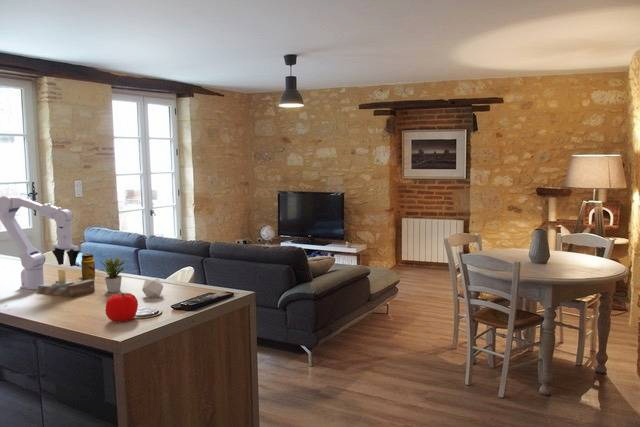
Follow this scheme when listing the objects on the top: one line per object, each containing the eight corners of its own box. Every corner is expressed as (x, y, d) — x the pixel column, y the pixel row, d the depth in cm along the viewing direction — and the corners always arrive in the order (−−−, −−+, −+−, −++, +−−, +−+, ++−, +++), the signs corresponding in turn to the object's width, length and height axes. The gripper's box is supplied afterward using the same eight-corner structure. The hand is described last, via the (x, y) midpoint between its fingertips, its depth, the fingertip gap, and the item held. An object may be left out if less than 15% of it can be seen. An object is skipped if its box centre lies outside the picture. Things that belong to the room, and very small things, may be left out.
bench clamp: (37, 292, 235) (36, 281, 234) (60, 286, 246) (59, 275, 245) (72, 297, 226) (71, 286, 225) (94, 291, 236) (94, 280, 236)
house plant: (128, 294, 230) (127, 257, 228) (95, 296, 227) (92, 259, 225) (133, 286, 244) (131, 251, 242) (101, 288, 241) (99, 253, 239)
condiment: (97, 279, 260) (96, 255, 258) (78, 281, 255) (77, 257, 254) (94, 276, 266) (93, 252, 264) (76, 278, 261) (74, 254, 260)
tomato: (122, 327, 186) (121, 298, 185) (98, 323, 191) (97, 295, 189) (146, 317, 197) (145, 290, 196) (123, 314, 201) (121, 287, 200)
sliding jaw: (52, 288, 234) (51, 271, 233) (65, 285, 240) (63, 268, 239) (60, 289, 232) (59, 271, 231) (72, 286, 238) (71, 269, 237)
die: (162, 294, 232) (148, 277, 231) (170, 288, 226) (156, 270, 226) (148, 305, 226) (134, 287, 225) (156, 298, 220) (142, 280, 220)
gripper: (46, 236, 240) (48, 265, 242) (68, 238, 234) (70, 268, 236) (59, 234, 247) (61, 262, 248) (81, 235, 241) (83, 265, 242)
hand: (66, 265), depth 242 cm, fingers open, 7 cm apart
